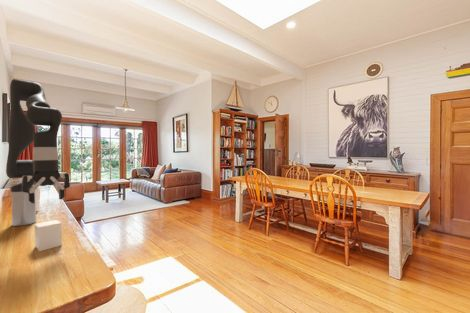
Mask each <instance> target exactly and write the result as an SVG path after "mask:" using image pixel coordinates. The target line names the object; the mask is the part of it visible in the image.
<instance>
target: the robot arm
mask: <svg viewBox="0 0 470 313" xmlns="http://www.w3.org/2000/svg"><path fill="white" fill-rule="evenodd" d="M9 100H10V102H9V103H10V116H9V124H8V126H9V127H8V151H7V152H8V153H7V159H6V160H7V161H6V165H5V168H6V169H5V174H6V176H7V177H8V178H10V179H21V182H20V183H17V184H14V185H11V187H10V197H11V198H10V199H11V200H10V201H11V225H12V227H18V226H19V227H21V226H27V225H31V224H35V223H37V212H36V202H35V190H36V189H37V188H38V187H39V188H40V187H41V186H42V187H44V186H53V185H55V187H57V188H58V199H59V200H63V199H64V198H65V189H68V188H70V187H71V185H70V175H69V173H68V172H63V173H60V172H59V169H60V168H59V167H60V166H59V152H58V133H59V129H60V125H61V123H62V118H63V114H62V112H61V111H60V110H59V109H58V108H55V107H51V106H50V104H49V102H48V101H47V98H46V94H45V91H44V87H43V86H42V85H41V84H40V83H38V82H35V81H31V80H30V81H29V80H24V79H18V78H13V79H12V80H11V81H10V85H9ZM21 101H22V102H25V106H26V112H25V111H24V109H23V107H22V105H21ZM35 126H45V127H48V126H49V128H48V130H43V131H36V127H35ZM32 143H33V151H32V159H19V157H20V156H21V155H22V153H23V152H24V151H25V150H26V149H27V148H28V147H29V146H30V145H32ZM60 178H62V179H63V183H64V185H62V184H61V183H60V182H59V181H58V180H59V179H60Z"/></svg>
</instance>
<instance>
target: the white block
mask: <svg viewBox="0 0 470 313" xmlns="http://www.w3.org/2000/svg"><path fill="white" fill-rule="evenodd" d="M34 234H35V235H34V236H35V237H34V238H35V239H34V241H35V242H34V243H35V248H36V249H37V250H38V252H43V251H45V250H49V249H53V248H58V247H61V246H63V243H62V242H63V241H62V240H63V239H62V237H63V236H62V222H61V221H59V220H58V219H54V220H50V221H43V222H38V223H37V222H36V223H34Z"/></svg>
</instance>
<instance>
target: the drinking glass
mask: <svg viewBox="0 0 470 313" xmlns="http://www.w3.org/2000/svg"><path fill="white" fill-rule="evenodd" d="M40 199H41V188H40V186H39V187H38V188H37V189H36V190H35V202H36V213H37V212H39V211H40Z"/></svg>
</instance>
